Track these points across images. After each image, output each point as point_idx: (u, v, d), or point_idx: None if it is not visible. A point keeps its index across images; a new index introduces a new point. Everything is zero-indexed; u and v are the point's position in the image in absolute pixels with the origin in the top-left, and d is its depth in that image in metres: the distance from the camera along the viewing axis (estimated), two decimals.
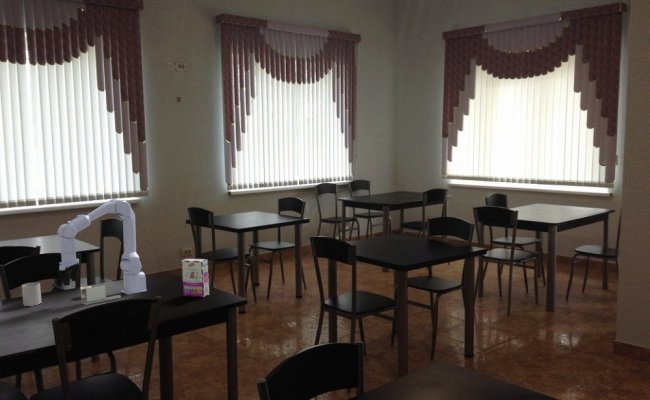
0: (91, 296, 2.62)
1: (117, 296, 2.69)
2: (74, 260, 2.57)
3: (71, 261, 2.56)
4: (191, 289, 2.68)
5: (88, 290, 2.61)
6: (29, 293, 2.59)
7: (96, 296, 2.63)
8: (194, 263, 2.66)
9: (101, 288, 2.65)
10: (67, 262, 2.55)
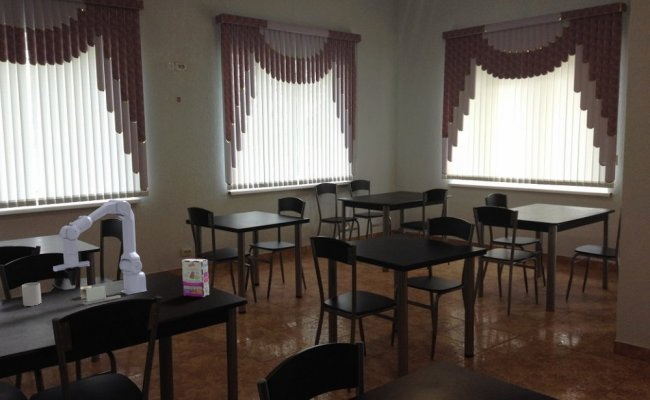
0: (91, 296, 2.62)
1: (117, 296, 2.69)
2: (71, 263, 2.53)
3: (68, 263, 2.53)
4: (191, 289, 2.68)
5: (88, 290, 2.61)
6: (29, 293, 2.59)
7: (96, 296, 2.63)
8: (194, 263, 2.66)
9: (101, 288, 2.65)
10: (65, 264, 2.54)
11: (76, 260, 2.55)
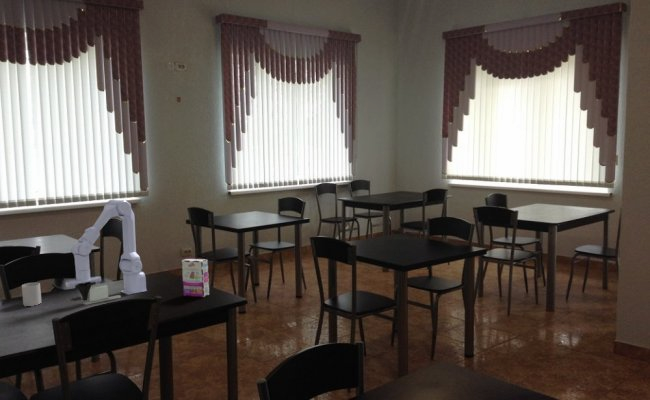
0: (93, 296, 2.62)
1: (117, 296, 2.69)
2: (83, 278, 2.57)
3: (80, 279, 2.57)
4: (191, 289, 2.68)
5: (90, 290, 2.61)
6: (29, 293, 2.59)
7: (98, 296, 2.64)
8: (194, 263, 2.66)
9: (104, 287, 2.65)
10: (77, 279, 2.57)
11: (88, 276, 2.59)
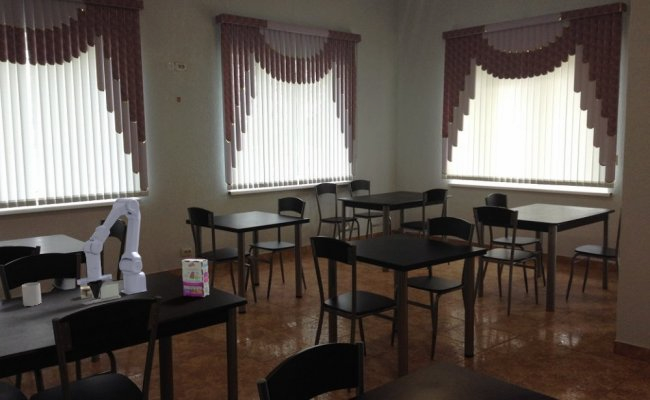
0: (104, 293, 2.66)
1: (117, 296, 2.69)
2: (95, 276, 2.60)
3: (91, 277, 2.60)
4: (191, 289, 2.68)
5: (102, 287, 2.65)
6: (29, 293, 2.59)
7: (109, 293, 2.67)
8: (194, 263, 2.66)
9: (115, 285, 2.68)
10: (88, 277, 2.61)
11: (99, 274, 2.62)
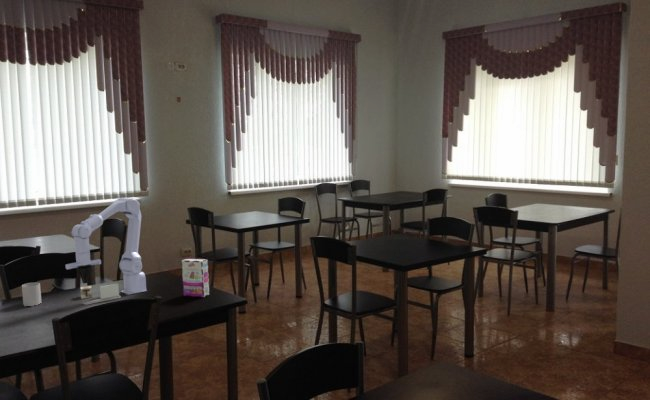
0: (105, 293, 2.66)
1: (117, 296, 2.69)
2: (83, 261, 2.57)
3: (80, 261, 2.56)
4: (191, 289, 2.68)
5: (102, 287, 2.65)
6: (29, 293, 2.59)
7: (109, 293, 2.67)
8: (194, 263, 2.66)
9: (115, 285, 2.69)
10: (77, 262, 2.57)
11: (88, 258, 2.58)
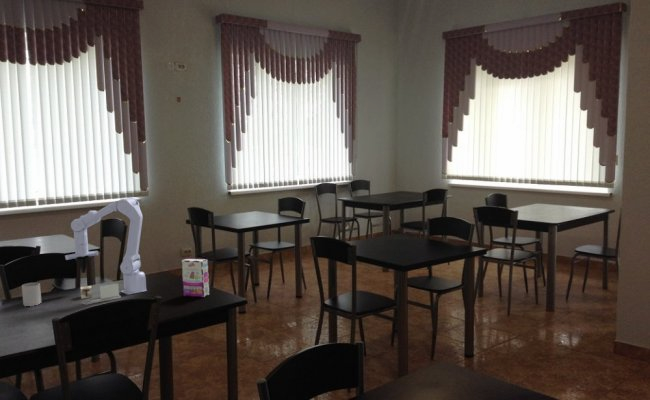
0: (105, 293, 2.66)
1: (117, 296, 2.69)
2: (82, 252, 2.78)
3: (78, 253, 2.77)
4: (191, 289, 2.68)
5: (102, 287, 2.65)
6: (29, 293, 2.59)
7: (109, 293, 2.67)
8: (194, 263, 2.66)
9: (115, 285, 2.69)
10: (76, 253, 2.78)
11: (86, 250, 2.79)
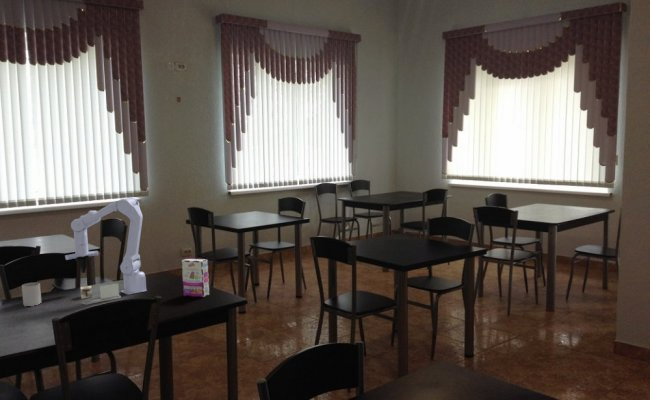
0: (105, 293, 2.66)
1: (117, 296, 2.69)
2: (82, 252, 2.78)
3: (78, 253, 2.77)
4: (191, 289, 2.68)
5: (102, 287, 2.65)
6: (29, 293, 2.59)
7: (109, 293, 2.67)
8: (194, 263, 2.66)
9: (115, 285, 2.69)
10: (76, 253, 2.78)
11: (86, 250, 2.79)
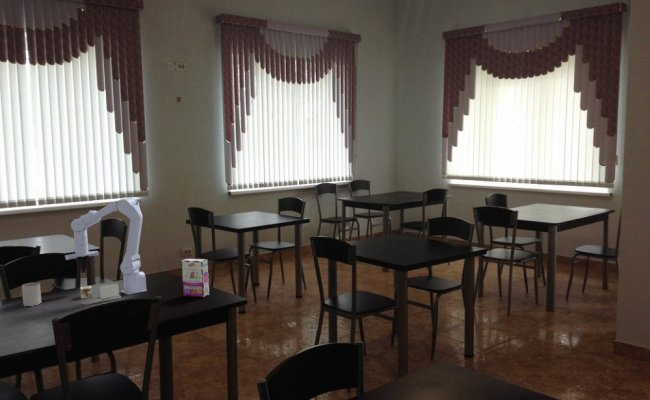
0: (105, 293, 2.66)
1: (117, 296, 2.69)
2: (82, 252, 2.78)
3: (78, 253, 2.77)
4: (191, 289, 2.68)
5: (102, 287, 2.65)
6: (29, 293, 2.59)
7: (109, 293, 2.67)
8: (194, 263, 2.66)
9: (115, 285, 2.69)
10: (76, 253, 2.78)
11: (86, 250, 2.79)
